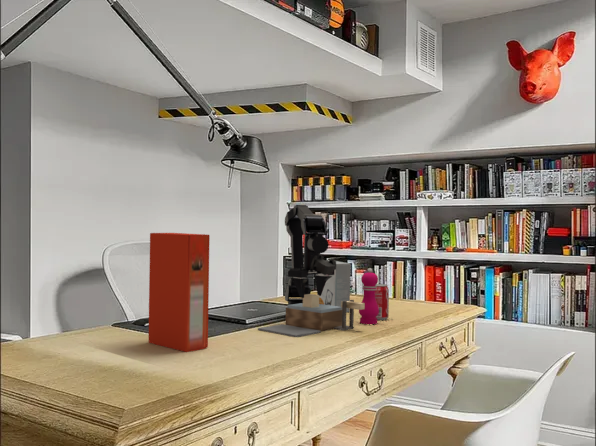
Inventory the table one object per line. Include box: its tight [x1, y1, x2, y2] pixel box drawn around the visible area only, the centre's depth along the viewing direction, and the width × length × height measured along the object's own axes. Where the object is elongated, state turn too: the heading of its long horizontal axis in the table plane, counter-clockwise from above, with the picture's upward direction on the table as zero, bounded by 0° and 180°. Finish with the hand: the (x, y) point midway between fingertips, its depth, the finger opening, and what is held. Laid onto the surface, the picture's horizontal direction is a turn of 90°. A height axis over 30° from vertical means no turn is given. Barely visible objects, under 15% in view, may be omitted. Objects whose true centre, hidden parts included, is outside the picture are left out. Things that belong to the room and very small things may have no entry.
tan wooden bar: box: [341, 301, 365, 311], centre depth 209 cm, size 8×2×2 cm, turn 49°
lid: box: [286, 293, 342, 313], centre depth 215 cm, size 15×11×6 cm
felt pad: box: [257, 323, 322, 338], centre depth 204 cm, size 17×12×1 cm
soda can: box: [375, 283, 390, 321], centre depth 234 cm, size 7×7×13 cm
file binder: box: [148, 232, 210, 353], centre depth 177 cm, size 8×17×32 cm, turn 48°
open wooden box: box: [284, 299, 355, 332], centre depth 214 cm, size 20×13×10 cm, turn 49°
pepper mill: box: [358, 267, 379, 325], centre depth 224 cm, size 7×7×20 cm
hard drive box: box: [316, 260, 352, 313], centre depth 255 cm, size 16×8×20 cm, turn 25°
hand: (311, 296), depth 214 cm, fingers open, 9 cm apart
